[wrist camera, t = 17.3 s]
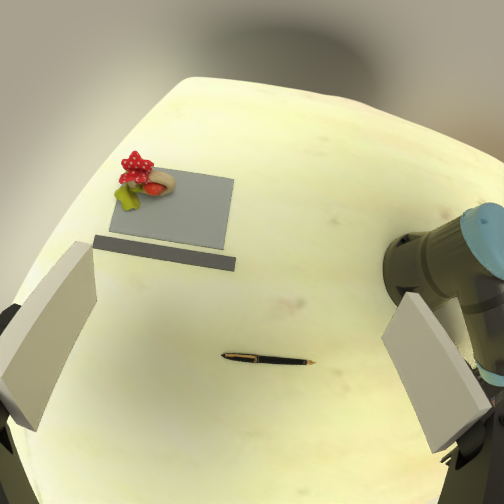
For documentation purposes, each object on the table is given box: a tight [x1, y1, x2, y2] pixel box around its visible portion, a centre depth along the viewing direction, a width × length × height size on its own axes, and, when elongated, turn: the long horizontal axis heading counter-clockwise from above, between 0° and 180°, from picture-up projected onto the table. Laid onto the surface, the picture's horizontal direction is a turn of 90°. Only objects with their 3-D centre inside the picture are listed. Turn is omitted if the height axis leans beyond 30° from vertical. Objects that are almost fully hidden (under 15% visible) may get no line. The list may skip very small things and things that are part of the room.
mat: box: [93, 167, 236, 271], centre depth 46 cm, size 22×15×1 cm
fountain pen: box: [221, 353, 315, 365], centre depth 42 cm, size 14×1×2 cm, turn 84°
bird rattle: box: [115, 151, 176, 211], centre depth 42 cm, size 6×11×9 cm
